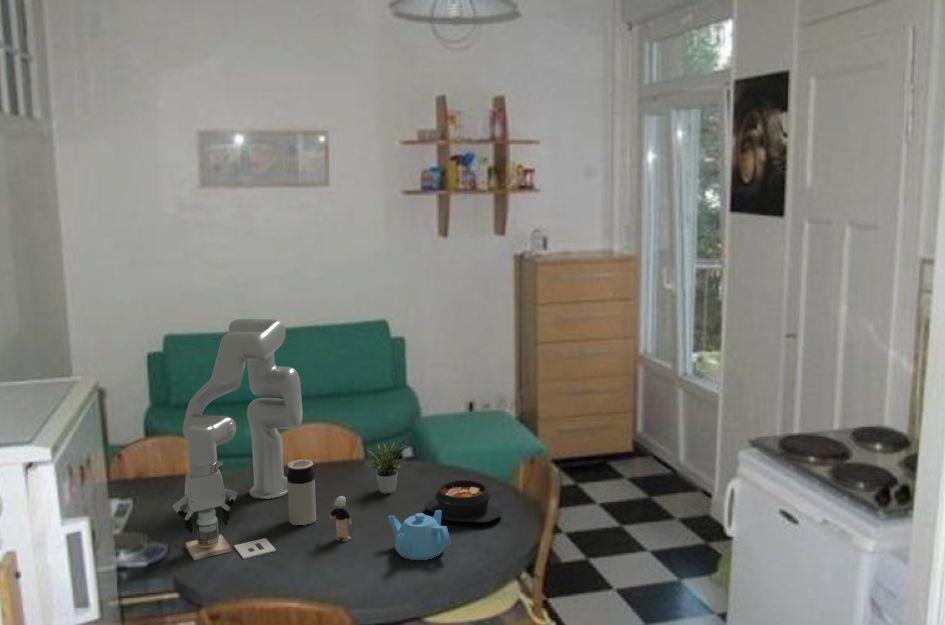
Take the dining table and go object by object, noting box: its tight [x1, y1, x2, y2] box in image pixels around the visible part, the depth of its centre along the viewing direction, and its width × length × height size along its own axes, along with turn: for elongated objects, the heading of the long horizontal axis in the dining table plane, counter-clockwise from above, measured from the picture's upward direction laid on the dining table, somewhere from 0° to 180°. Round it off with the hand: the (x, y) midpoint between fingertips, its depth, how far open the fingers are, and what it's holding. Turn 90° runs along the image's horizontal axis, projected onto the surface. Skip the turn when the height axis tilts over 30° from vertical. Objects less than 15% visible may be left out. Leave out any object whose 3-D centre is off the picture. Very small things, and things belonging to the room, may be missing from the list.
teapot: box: [387, 510, 452, 561], centre depth 229 cm, size 15×15×11 cm
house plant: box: [365, 442, 409, 492], centre depth 272 cm, size 14×14×16 cm
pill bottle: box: [196, 508, 220, 548], centre depth 232 cm, size 6×6×10 cm
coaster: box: [184, 534, 232, 561], centre depth 232 cm, size 10×10×1 cm
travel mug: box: [286, 459, 317, 526], centre depth 249 cm, size 8×8×18 cm
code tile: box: [233, 537, 277, 560], centre depth 232 cm, size 9×9×1 cm
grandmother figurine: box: [329, 495, 353, 542], centre depth 237 cm, size 8×4×13 cm, turn 71°
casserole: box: [424, 479, 503, 524], centre depth 254 cm, size 25×19×8 cm
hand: (207, 527), depth 232 cm, fingers open, 9 cm apart
